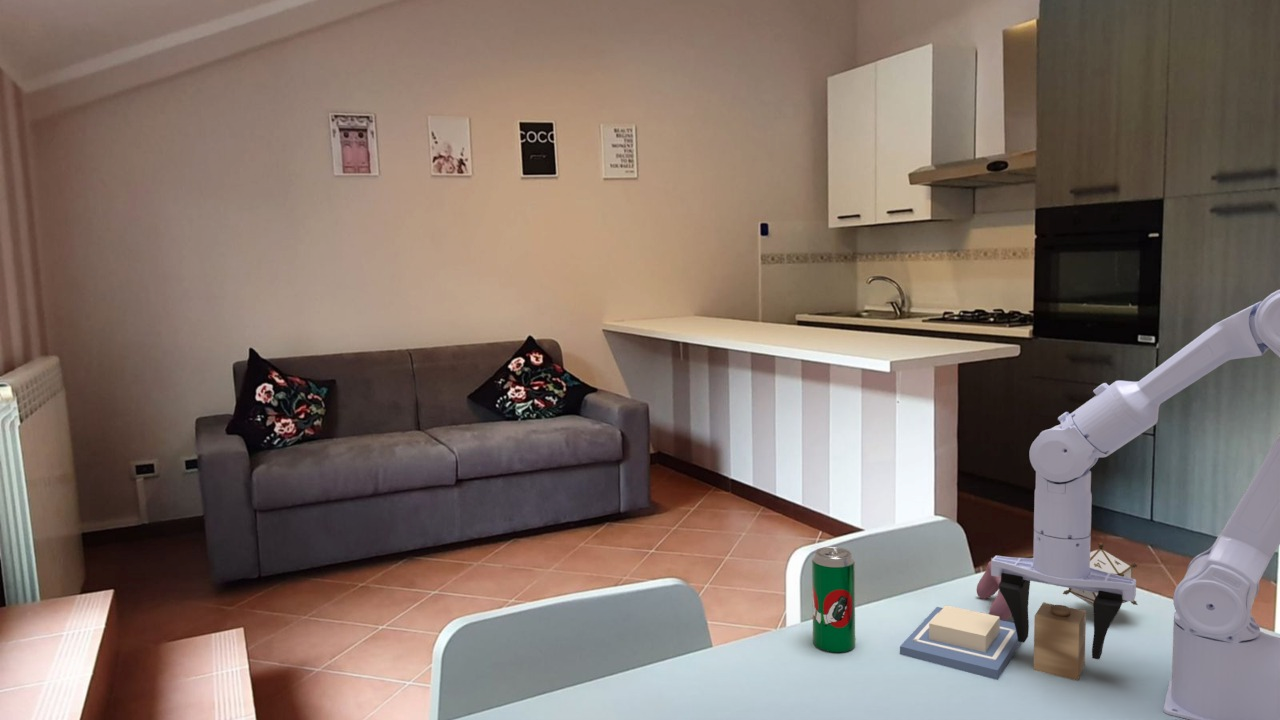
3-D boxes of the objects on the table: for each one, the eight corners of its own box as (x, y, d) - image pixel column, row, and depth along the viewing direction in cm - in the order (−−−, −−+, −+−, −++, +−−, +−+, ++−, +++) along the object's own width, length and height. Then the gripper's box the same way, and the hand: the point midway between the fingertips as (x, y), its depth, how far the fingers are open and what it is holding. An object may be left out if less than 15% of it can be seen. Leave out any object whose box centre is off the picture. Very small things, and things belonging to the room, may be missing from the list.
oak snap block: (1084, 665, 95) (1086, 605, 95) (1077, 681, 92) (1079, 619, 91) (1042, 655, 98) (1043, 597, 97) (1033, 670, 95) (1034, 610, 94)
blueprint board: (1026, 634, 104) (1026, 610, 103) (997, 680, 92) (997, 653, 92) (936, 615, 110) (936, 592, 110) (899, 655, 99) (899, 630, 99)
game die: (1137, 635, 102) (1139, 556, 101) (1060, 622, 107) (1062, 547, 106) (1136, 609, 110) (1138, 536, 109) (1064, 598, 114) (1066, 527, 113)
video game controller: (1027, 628, 106) (1030, 575, 105) (989, 625, 107) (992, 572, 106) (1009, 598, 115) (1012, 549, 115) (974, 595, 116) (977, 547, 116)
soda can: (863, 647, 102) (863, 552, 100) (838, 660, 98) (837, 562, 97) (829, 634, 105) (828, 542, 104) (804, 646, 102) (803, 552, 101)
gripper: (1141, 532, 92) (1137, 649, 94) (1002, 512, 101) (1000, 620, 102) (1132, 550, 87) (1128, 674, 88) (987, 528, 95) (985, 641, 97)
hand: (1059, 647), depth 95 cm, fingers open, 7 cm apart
